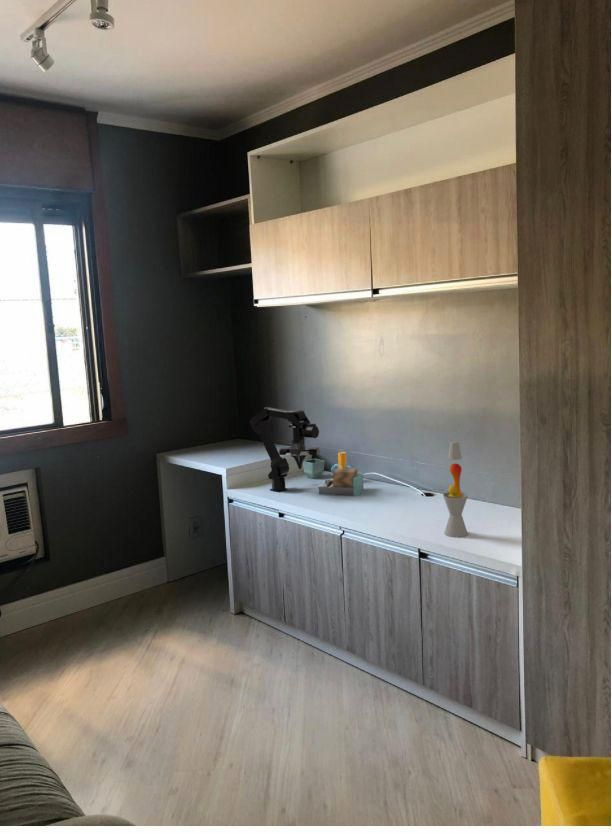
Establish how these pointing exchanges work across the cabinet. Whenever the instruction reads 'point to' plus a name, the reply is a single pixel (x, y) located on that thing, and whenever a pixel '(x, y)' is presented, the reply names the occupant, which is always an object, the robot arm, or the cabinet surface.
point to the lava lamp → (455, 497)
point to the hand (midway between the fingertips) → (300, 468)
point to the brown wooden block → (344, 477)
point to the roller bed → (335, 489)
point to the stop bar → (358, 483)
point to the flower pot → (313, 467)
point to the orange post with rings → (341, 461)
